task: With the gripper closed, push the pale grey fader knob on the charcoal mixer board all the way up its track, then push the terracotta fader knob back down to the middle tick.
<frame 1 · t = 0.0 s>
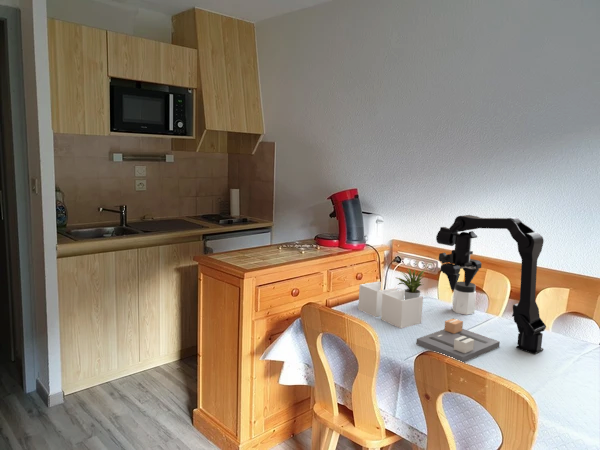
hand: (459, 287, 179), 15 cm above the table, tool pointing down, fingers open, 9 cm apart
right fader: (453, 325, 168), point 4 cm above the table, slide at 12.0 cm
white cube planter: (388, 317, 189), on the table
left fader: (464, 344, 151), point 4 cm above the table, slide at 0.0 cm
mixer board: (457, 345, 160), on the table
house plant: (412, 304, 205), on the table
jar: (463, 311, 197), on the table
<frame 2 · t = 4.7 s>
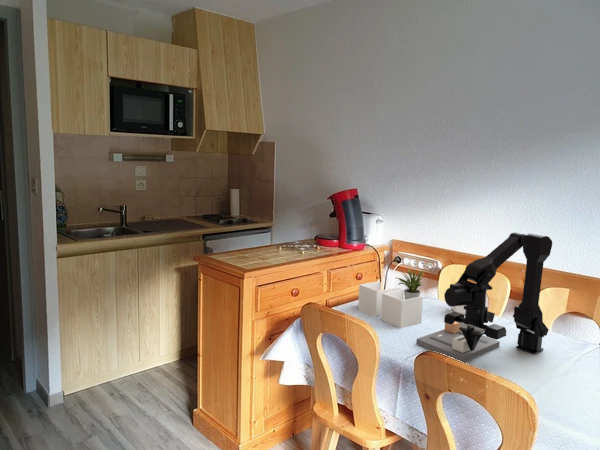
hand: (472, 350, 149), 3 cm above the table, tool pointing down, fingers closed
left fader: (462, 343, 152), point 4 cm above the table, slide at 0.7 cm, touching gripper
everything else where it was.
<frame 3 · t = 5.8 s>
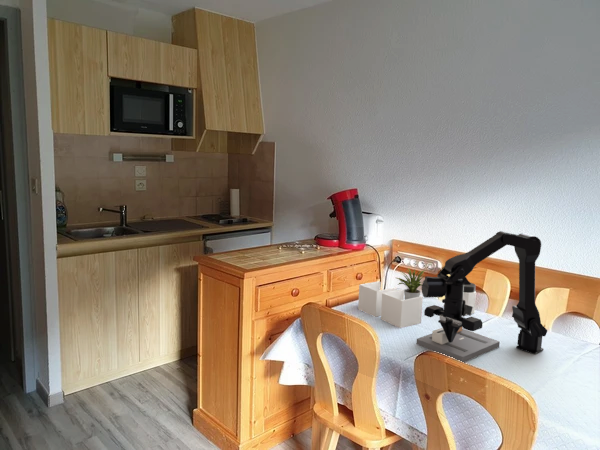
hand: (450, 342, 155), 3 cm above the table, tool pointing down, fingers closed
left fader: (441, 335, 158), point 4 cm above the table, slide at 8.6 cm, touching gripper
everything else where it was.
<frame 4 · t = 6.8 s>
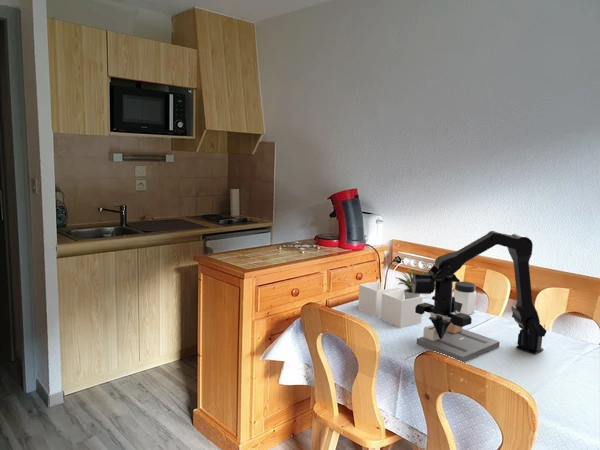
hand: (441, 338, 158), 3 cm above the table, tool pointing down, fingers closed
left fader: (432, 332, 161), point 4 cm above the table, slide at 12.2 cm, touching gripper
everything else where it was.
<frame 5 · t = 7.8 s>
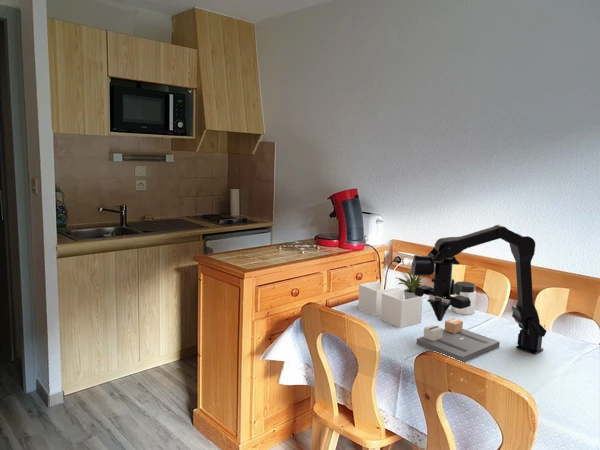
hand: (439, 320, 158), 9 cm above the table, tool pointing down, fingers closed
left fader: (433, 332, 161), point 4 cm above the table, slide at 12.0 cm
everything else where it was.
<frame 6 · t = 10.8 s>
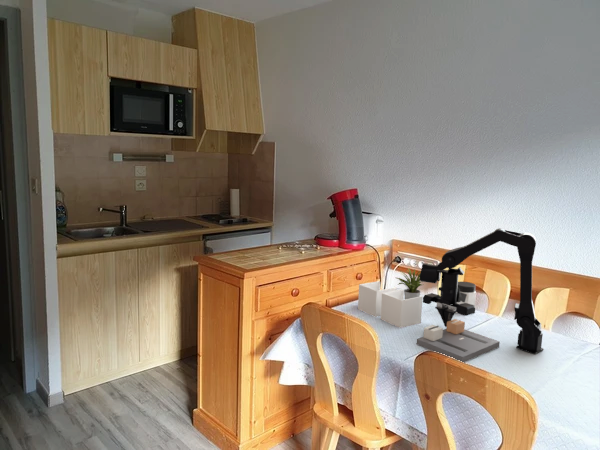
hand: (446, 326, 171), 3 cm above the table, tool pointing down, fingers closed
right fader: (455, 326, 167), point 4 cm above the table, slide at 11.2 cm, touching gripper
everything else where it was.
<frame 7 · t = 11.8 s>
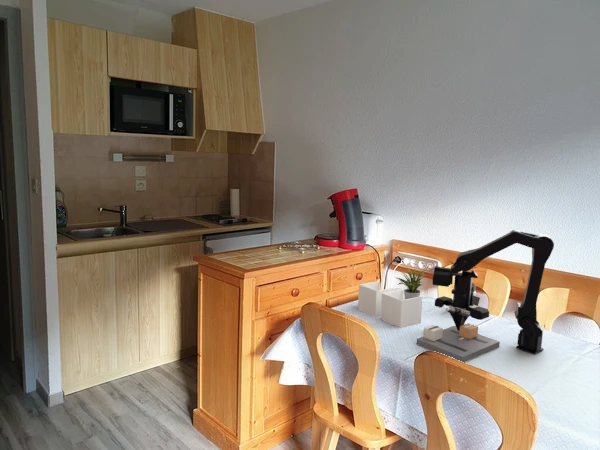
hand: (459, 330, 166), 3 cm above the table, tool pointing down, fingers closed
right fader: (468, 330, 163), point 4 cm above the table, slide at 5.9 cm, touching gripper
everything else where it was.
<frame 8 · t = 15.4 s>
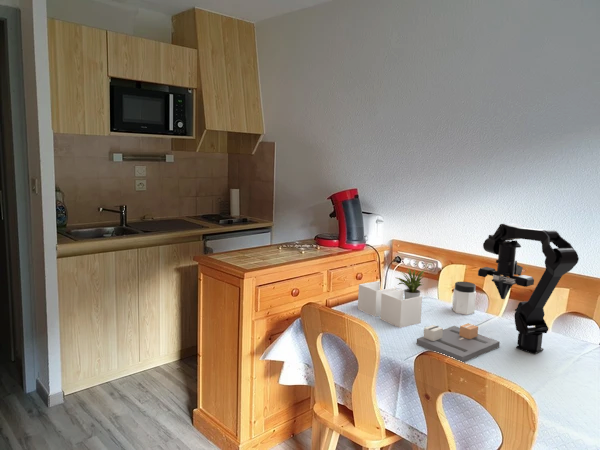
hand: (503, 299, 171), 13 cm above the table, tool pointing down, fingers closed
right fader: (468, 330, 163), point 4 cm above the table, slide at 5.9 cm
everything else where it was.
at the end: left fader slide at 12.0 cm; right fader slide at 5.9 cm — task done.
